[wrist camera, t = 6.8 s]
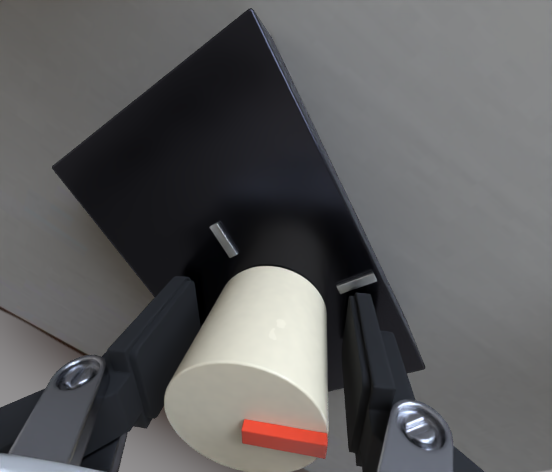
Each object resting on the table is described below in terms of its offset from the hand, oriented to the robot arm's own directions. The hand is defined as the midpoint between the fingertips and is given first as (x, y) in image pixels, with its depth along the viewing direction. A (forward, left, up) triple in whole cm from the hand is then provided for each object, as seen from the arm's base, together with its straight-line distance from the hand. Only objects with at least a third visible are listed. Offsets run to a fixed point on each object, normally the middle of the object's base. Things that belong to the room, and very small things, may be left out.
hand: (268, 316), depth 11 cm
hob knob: (0, 0, 0) cm, 0 cm away
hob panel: (+2, 0, -3) cm, 4 cm away
